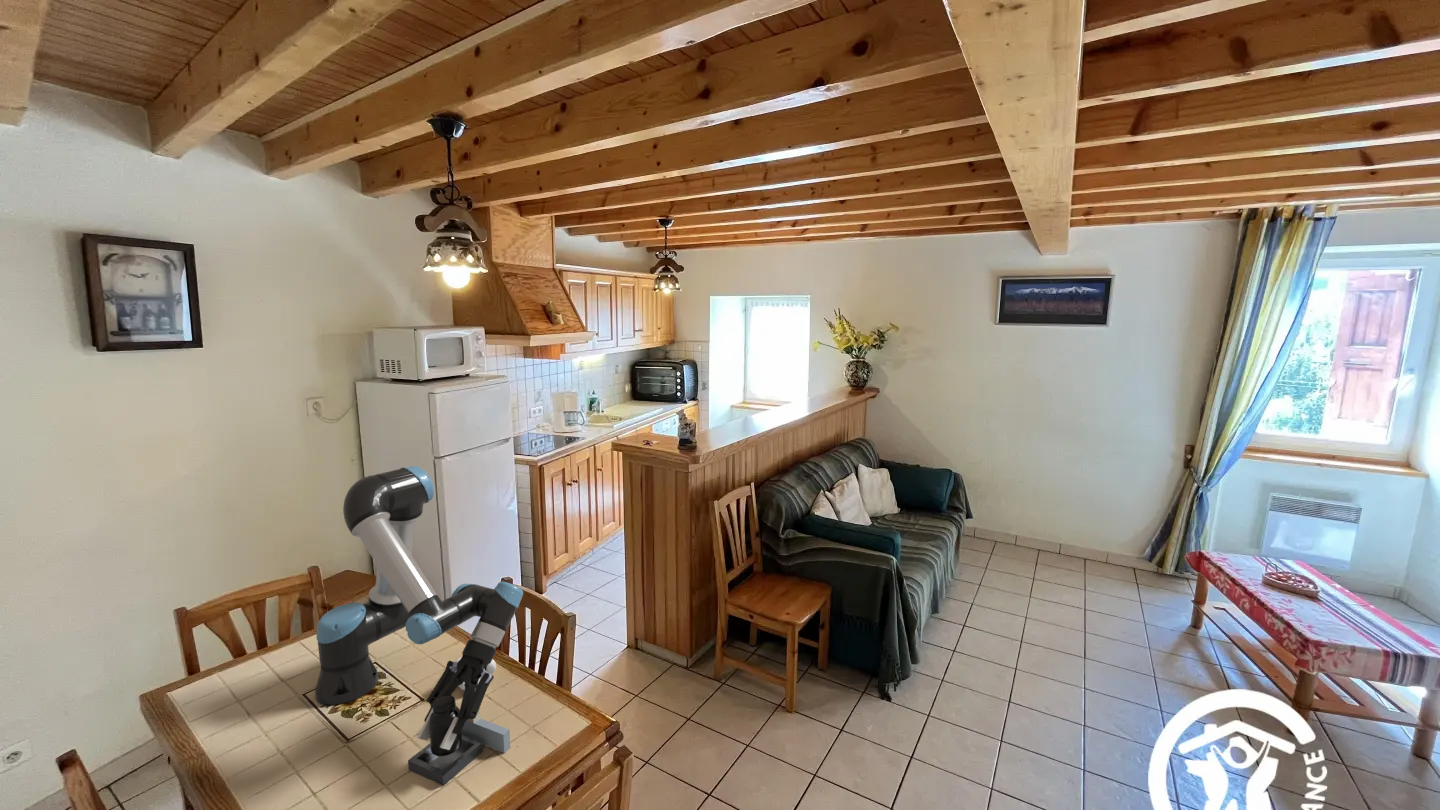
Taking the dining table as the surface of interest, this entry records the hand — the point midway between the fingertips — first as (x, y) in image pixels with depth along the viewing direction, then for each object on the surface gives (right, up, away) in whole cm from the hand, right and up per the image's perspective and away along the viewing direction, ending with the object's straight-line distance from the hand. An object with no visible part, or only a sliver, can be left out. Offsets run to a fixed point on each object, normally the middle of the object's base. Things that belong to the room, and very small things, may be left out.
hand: (433, 743), depth 132 cm
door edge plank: (+4, -6, +12) cm, 14 cm away
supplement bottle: (+1, -3, +4) cm, 5 cm away
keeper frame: (+1, -7, +4) cm, 8 cm away
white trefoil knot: (-5, -3, +34) cm, 34 cm away
